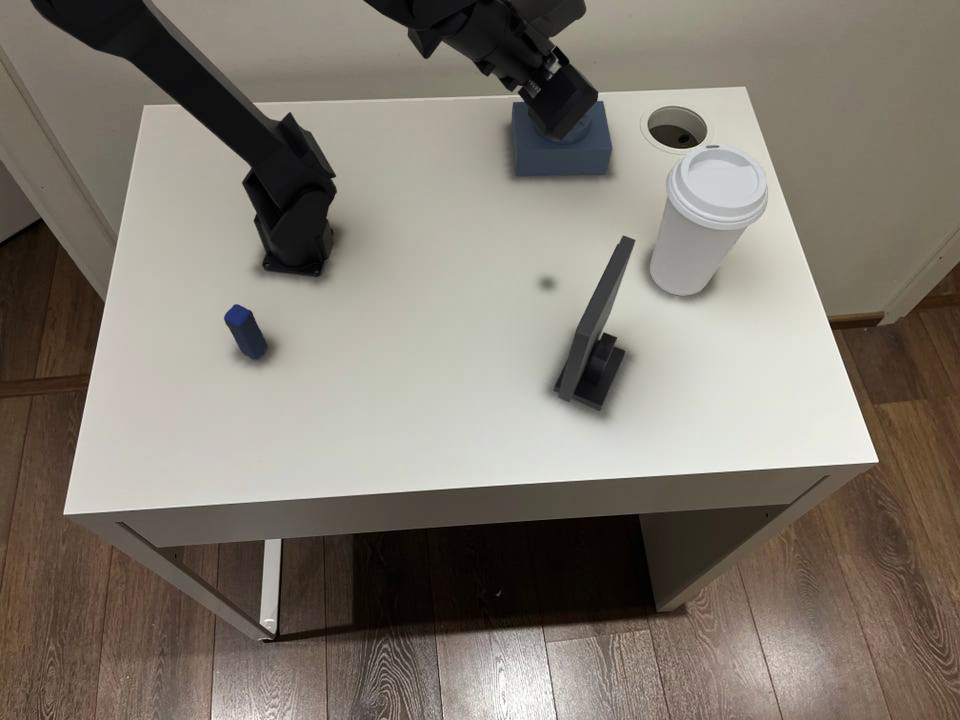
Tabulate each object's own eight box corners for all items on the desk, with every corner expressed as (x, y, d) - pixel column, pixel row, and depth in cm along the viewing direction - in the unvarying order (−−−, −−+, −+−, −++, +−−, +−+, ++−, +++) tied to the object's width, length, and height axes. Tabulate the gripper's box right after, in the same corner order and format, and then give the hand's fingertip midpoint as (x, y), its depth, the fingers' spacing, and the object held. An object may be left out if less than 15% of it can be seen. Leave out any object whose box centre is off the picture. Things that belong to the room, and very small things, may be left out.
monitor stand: (553, 390, 70) (560, 363, 65) (578, 337, 73) (587, 306, 68) (599, 411, 69) (611, 384, 64) (623, 355, 72) (636, 326, 67)
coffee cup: (726, 248, 79) (779, 149, 66) (717, 316, 75) (772, 224, 62) (642, 229, 80) (678, 128, 67) (629, 296, 76) (665, 201, 63)
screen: (556, 396, 66) (574, 330, 56) (597, 309, 71) (621, 234, 61) (569, 402, 66) (590, 337, 55) (609, 314, 71) (636, 239, 60)
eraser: (257, 363, 71) (239, 327, 65) (240, 353, 71) (220, 316, 65) (271, 347, 71) (254, 310, 66) (253, 337, 72) (235, 300, 66)
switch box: (515, 176, 84) (518, 138, 78) (510, 128, 88) (513, 89, 82) (606, 174, 84) (615, 136, 79) (597, 127, 88) (606, 88, 83)
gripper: (598, 12, 58) (671, 82, 70) (490, -101, 66) (573, -20, 78) (509, 117, 63) (592, 165, 75) (418, 0, 71) (507, 61, 83)
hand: (566, 89), depth 78 cm, fingers closed
